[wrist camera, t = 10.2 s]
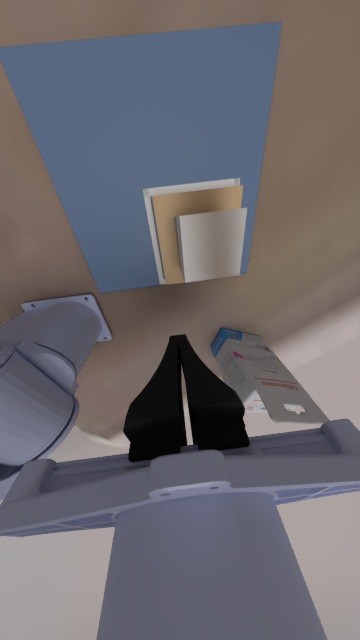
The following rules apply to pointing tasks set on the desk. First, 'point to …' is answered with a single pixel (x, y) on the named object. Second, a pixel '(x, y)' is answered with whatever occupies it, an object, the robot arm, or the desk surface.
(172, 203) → the base slab
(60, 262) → the desk surface
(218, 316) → the desk surface
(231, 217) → the top block
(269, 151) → the desk surface
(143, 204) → the board
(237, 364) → the ink box
